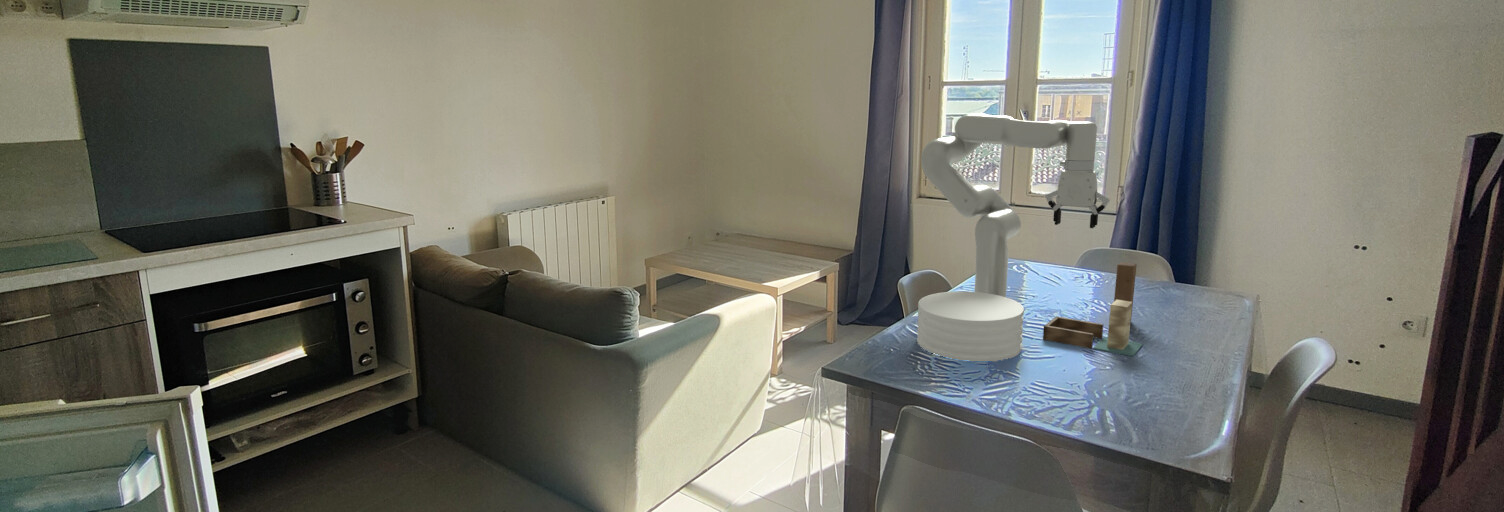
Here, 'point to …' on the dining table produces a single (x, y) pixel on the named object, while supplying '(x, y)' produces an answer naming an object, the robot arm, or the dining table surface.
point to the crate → (1072, 331)
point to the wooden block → (1125, 282)
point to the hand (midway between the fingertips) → (1074, 225)
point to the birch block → (1119, 324)
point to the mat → (1128, 350)
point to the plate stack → (970, 325)
